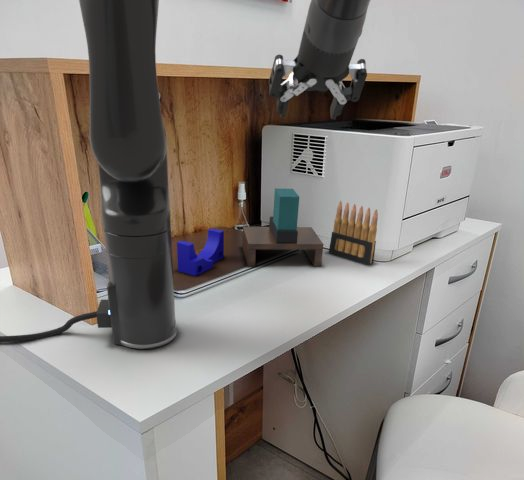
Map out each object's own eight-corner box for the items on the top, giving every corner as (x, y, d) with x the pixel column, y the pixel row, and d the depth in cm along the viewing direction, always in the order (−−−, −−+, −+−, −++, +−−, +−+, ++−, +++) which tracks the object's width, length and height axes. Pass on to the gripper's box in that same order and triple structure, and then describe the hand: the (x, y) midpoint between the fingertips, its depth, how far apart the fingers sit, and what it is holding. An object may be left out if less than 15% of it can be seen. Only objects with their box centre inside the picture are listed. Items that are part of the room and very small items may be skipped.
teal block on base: (276, 243, 104) (279, 197, 99) (269, 227, 113) (271, 184, 108) (297, 243, 104) (300, 197, 99) (288, 227, 113) (291, 185, 109)
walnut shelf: (247, 266, 105) (248, 243, 102) (242, 247, 115) (242, 226, 113) (321, 266, 107) (323, 244, 104) (309, 247, 117) (311, 227, 115)
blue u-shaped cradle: (195, 276, 99) (195, 247, 96) (178, 271, 101) (176, 242, 98) (229, 259, 108) (229, 232, 105) (212, 254, 110) (212, 228, 107)
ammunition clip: (373, 263, 110) (382, 209, 104) (369, 265, 109) (378, 210, 103) (332, 251, 116) (339, 199, 110) (328, 253, 115) (334, 200, 108)
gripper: (380, 10, 68) (346, 96, 84) (278, 3, 67) (263, 92, 82) (386, 54, 67) (350, 134, 82) (282, 48, 65) (266, 131, 80)
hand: (307, 113), depth 82 cm, fingers open, 8 cm apart
